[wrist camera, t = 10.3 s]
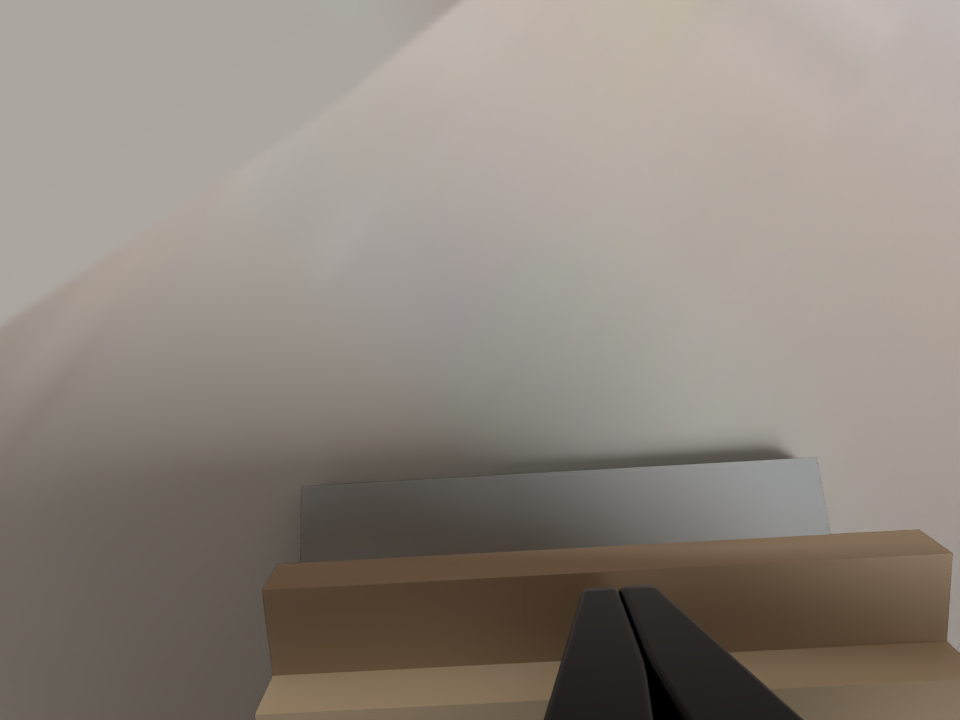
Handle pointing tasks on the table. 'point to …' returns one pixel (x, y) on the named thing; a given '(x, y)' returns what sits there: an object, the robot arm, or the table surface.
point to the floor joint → (562, 510)
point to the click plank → (567, 572)
